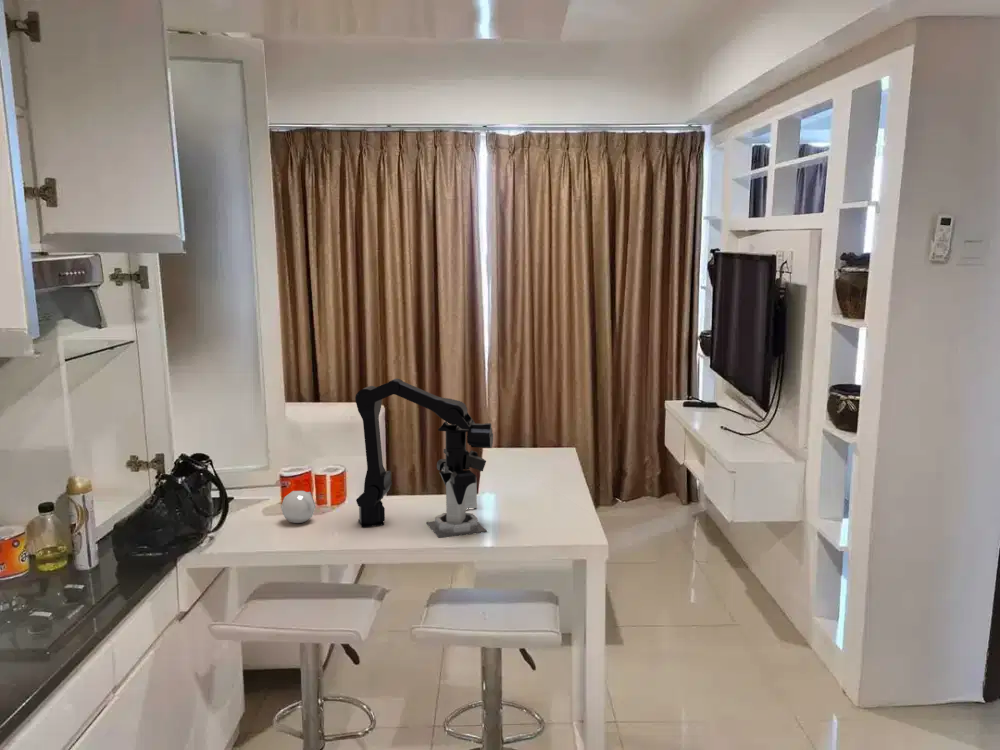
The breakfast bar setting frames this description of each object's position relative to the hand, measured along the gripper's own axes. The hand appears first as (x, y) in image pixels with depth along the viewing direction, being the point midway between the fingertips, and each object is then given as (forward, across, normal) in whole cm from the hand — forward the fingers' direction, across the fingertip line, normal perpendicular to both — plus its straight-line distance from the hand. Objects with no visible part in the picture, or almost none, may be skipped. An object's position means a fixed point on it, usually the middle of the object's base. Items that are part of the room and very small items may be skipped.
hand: (455, 500), depth 213 cm
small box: (+8, +18, -8) cm, 21 cm away
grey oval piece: (+8, +23, +41) cm, 48 cm away
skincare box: (+6, 0, 0) cm, 6 cm away
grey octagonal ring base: (+8, 0, 0) cm, 8 cm away
